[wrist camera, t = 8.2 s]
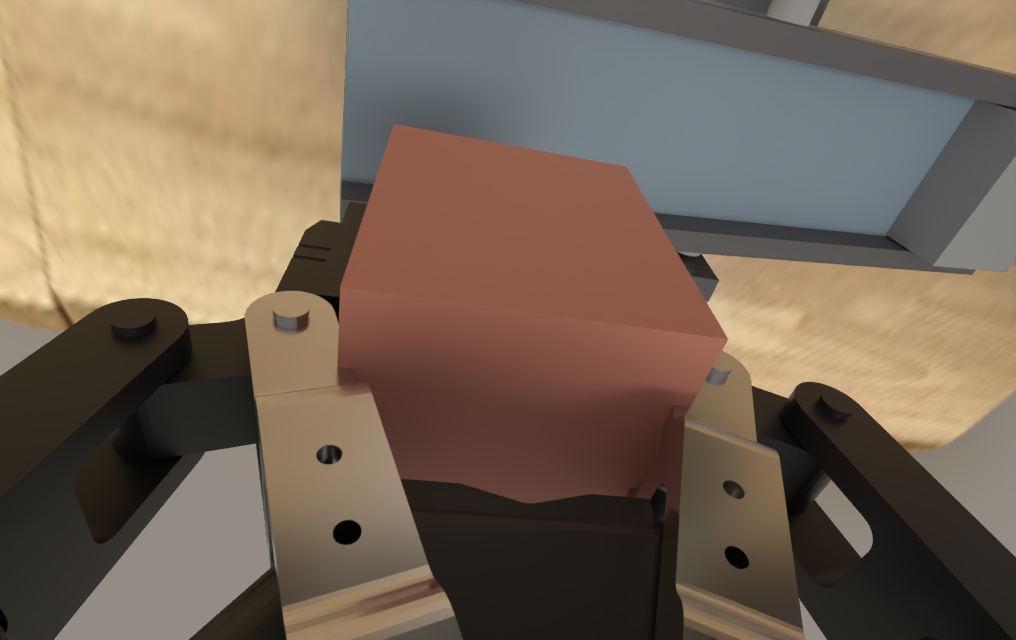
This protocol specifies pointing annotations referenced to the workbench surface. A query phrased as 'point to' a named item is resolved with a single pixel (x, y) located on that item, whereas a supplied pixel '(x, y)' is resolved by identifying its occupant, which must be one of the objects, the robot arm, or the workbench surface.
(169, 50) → the workbench surface
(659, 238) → the block
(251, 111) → the workbench surface
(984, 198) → the balance beam
